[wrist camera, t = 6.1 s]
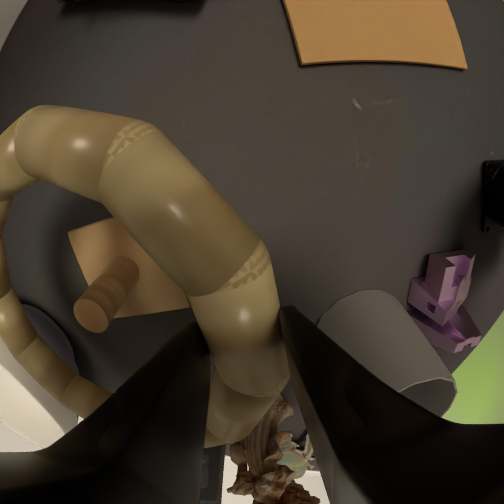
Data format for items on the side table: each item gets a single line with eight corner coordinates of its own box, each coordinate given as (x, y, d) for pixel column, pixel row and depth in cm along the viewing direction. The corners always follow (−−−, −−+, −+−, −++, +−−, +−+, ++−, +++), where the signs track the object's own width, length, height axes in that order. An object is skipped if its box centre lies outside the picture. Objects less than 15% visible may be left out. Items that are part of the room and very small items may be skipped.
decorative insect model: (348, 440, 29) (346, 472, 25) (294, 460, 35) (289, 487, 30) (297, 417, 28) (291, 454, 24) (246, 440, 34) (237, 469, 29)
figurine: (287, 373, 25) (308, 526, 11) (304, 405, 27) (325, 533, 13) (215, 392, 26) (204, 534, 12) (240, 422, 28) (239, 543, 14)
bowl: (26, 245, 19) (-44, 299, 11) (131, 373, 25) (103, 451, 16) (-20, 307, 22) (-62, 351, 14) (59, 398, 28) (33, 450, 19)
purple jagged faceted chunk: (415, 253, 20) (456, 290, 15) (472, 246, 20) (513, 275, 15) (400, 332, 23) (427, 376, 18) (454, 319, 23) (484, 355, 18)
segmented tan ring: (226, 29, 6) (197, -3, 4) (307, 428, 12) (304, 468, 10) (-33, 185, 10) (-61, 198, 8) (75, 399, 16) (60, 421, 14)
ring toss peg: (158, 203, 19) (119, 237, 13) (191, 303, 22) (174, 363, 16) (70, 230, 19) (19, 266, 13) (107, 315, 22) (75, 367, 16)
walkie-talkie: (194, 419, 28) (174, 580, 10) (223, 420, 28) (215, 585, 10) (199, 438, 30) (185, 579, 11) (226, 439, 30) (220, 583, 11)
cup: (368, 270, 21) (432, 358, 12) (416, 319, 23) (469, 395, 14) (293, 340, 23) (313, 442, 14) (351, 375, 25) (379, 459, 16)
